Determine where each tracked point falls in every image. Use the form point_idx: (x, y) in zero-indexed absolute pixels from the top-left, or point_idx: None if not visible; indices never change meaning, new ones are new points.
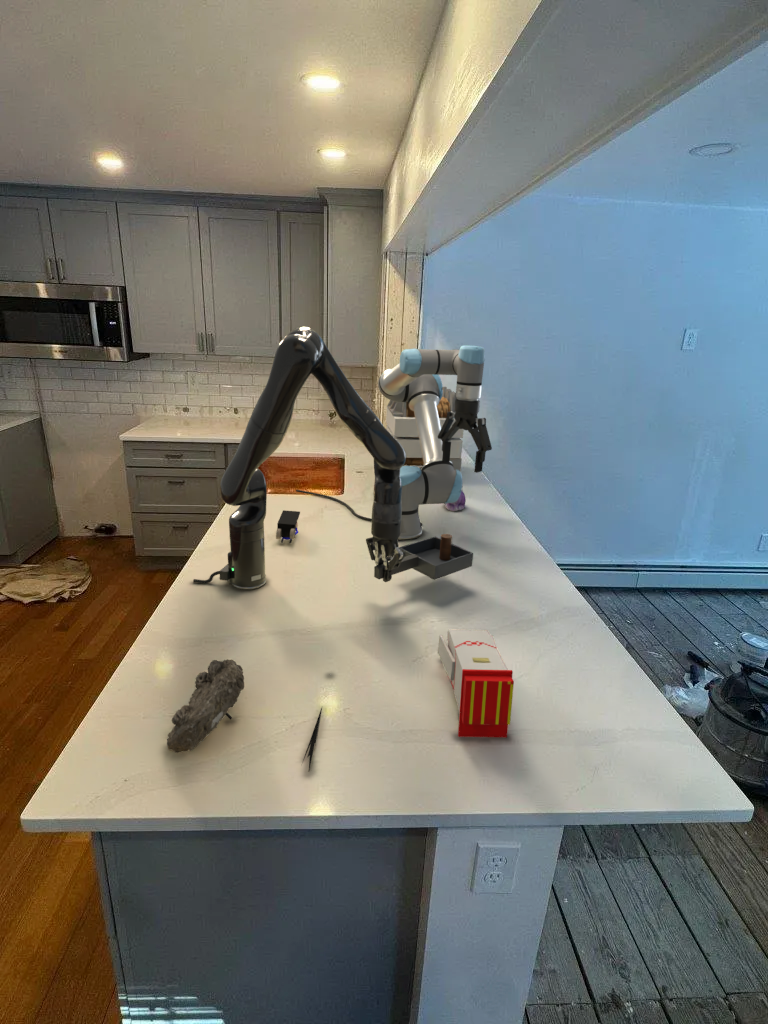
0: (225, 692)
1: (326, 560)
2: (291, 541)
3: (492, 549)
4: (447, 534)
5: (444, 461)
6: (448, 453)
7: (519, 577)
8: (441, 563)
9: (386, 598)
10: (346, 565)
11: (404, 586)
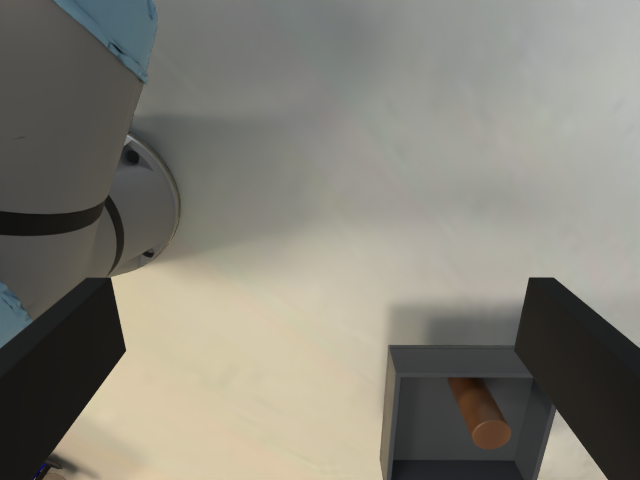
0: None
1: (187, 451)
2: (56, 466)
3: (399, 30)
4: (486, 427)
5: (118, 349)
6: (62, 358)
7: (581, 145)
8: (535, 476)
9: None
10: (233, 434)
11: None
